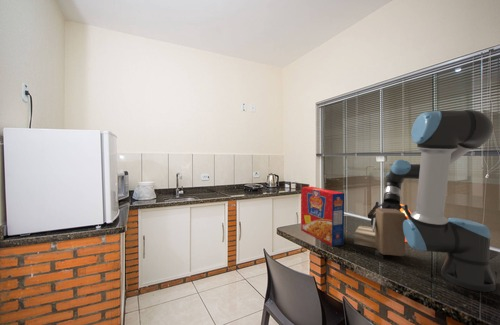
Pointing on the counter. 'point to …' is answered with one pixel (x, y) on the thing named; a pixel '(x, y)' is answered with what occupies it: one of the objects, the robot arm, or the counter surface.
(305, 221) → the pasta box
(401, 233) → the block
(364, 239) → the plinth
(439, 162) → the robot arm
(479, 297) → the counter surface
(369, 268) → the counter surface
